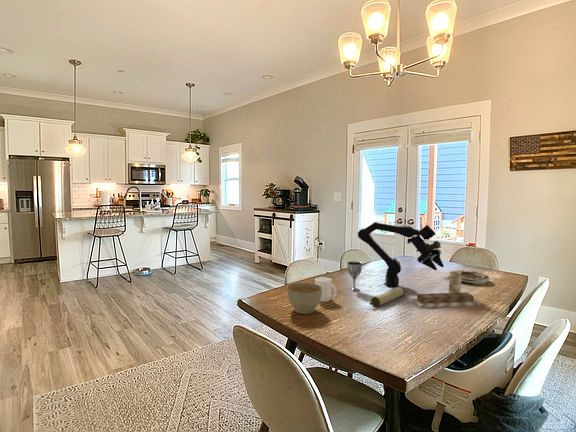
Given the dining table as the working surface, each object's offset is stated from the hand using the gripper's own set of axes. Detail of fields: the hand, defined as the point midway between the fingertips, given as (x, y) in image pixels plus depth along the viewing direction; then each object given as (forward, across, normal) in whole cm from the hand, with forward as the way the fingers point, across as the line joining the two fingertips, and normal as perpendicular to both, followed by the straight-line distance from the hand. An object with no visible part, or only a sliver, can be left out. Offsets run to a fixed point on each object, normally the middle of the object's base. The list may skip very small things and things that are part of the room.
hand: (439, 268), depth 180 cm
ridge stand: (+16, -14, +3) cm, 21 cm away
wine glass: (-15, -28, +34) cm, 47 cm away
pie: (+13, +37, +7) cm, 40 cm away
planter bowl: (-13, -71, +33) cm, 79 cm away
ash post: (+15, 0, +4) cm, 16 cm away
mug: (-15, -52, +35) cm, 65 cm away
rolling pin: (+1, -31, +19) cm, 36 cm away
